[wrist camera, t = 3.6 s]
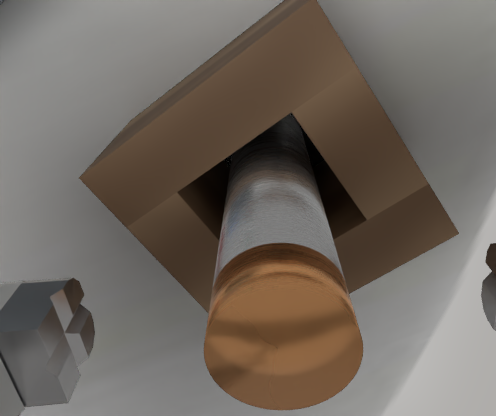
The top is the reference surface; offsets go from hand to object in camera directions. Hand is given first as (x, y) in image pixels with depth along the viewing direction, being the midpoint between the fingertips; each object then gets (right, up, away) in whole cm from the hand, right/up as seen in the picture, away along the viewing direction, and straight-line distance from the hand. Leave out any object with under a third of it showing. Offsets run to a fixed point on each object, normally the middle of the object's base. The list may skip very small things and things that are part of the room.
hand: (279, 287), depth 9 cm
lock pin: (0, +4, +10) cm, 11 cm away
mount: (0, +4, +10) cm, 11 cm away
